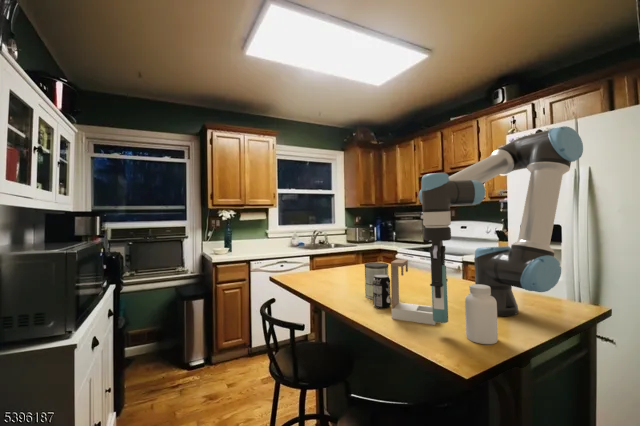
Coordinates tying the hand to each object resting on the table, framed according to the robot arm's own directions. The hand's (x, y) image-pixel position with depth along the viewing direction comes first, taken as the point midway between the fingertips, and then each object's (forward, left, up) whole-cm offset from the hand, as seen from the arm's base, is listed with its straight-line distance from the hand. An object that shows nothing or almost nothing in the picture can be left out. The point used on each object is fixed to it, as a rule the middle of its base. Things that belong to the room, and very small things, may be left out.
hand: (440, 305), depth 89 cm
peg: (0, 0, -4) cm, 4 cm away
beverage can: (+23, -20, -9) cm, 32 cm away
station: (+9, -12, -9) cm, 18 cm away
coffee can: (+29, -33, -9) cm, 45 cm away
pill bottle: (-11, -2, -9) cm, 14 cm away
